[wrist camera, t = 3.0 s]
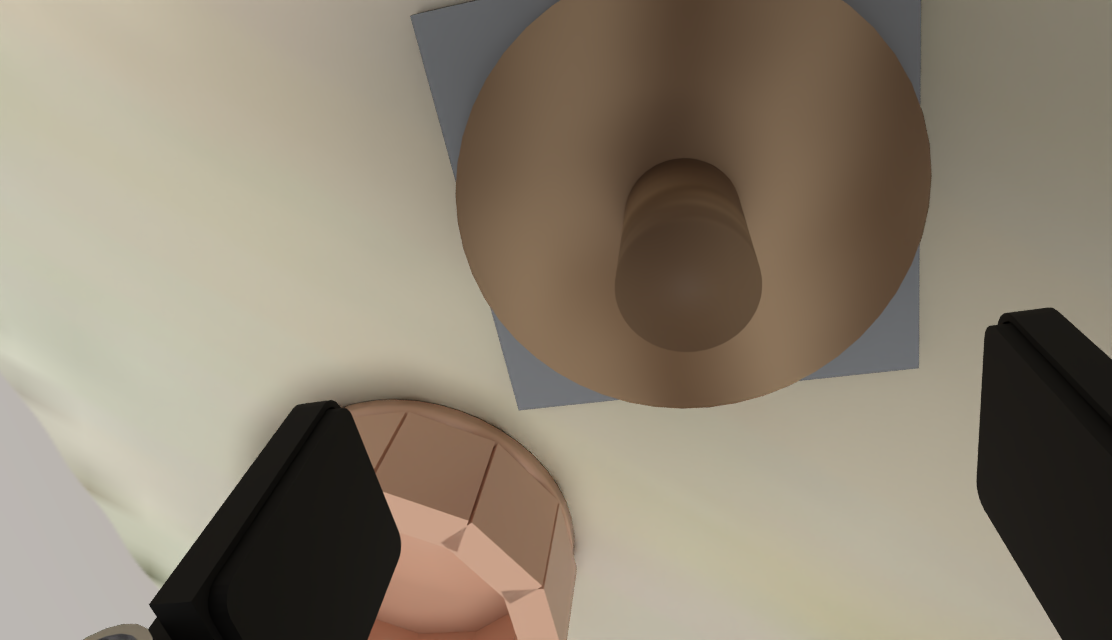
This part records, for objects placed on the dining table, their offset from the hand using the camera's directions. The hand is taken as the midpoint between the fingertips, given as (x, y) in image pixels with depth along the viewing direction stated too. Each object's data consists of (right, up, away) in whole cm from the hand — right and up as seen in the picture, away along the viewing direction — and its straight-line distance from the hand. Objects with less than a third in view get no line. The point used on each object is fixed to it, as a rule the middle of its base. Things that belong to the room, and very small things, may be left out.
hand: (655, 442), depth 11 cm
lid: (+2, +5, +11) cm, 12 cm away
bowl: (-7, -7, +19) cm, 21 cm away
